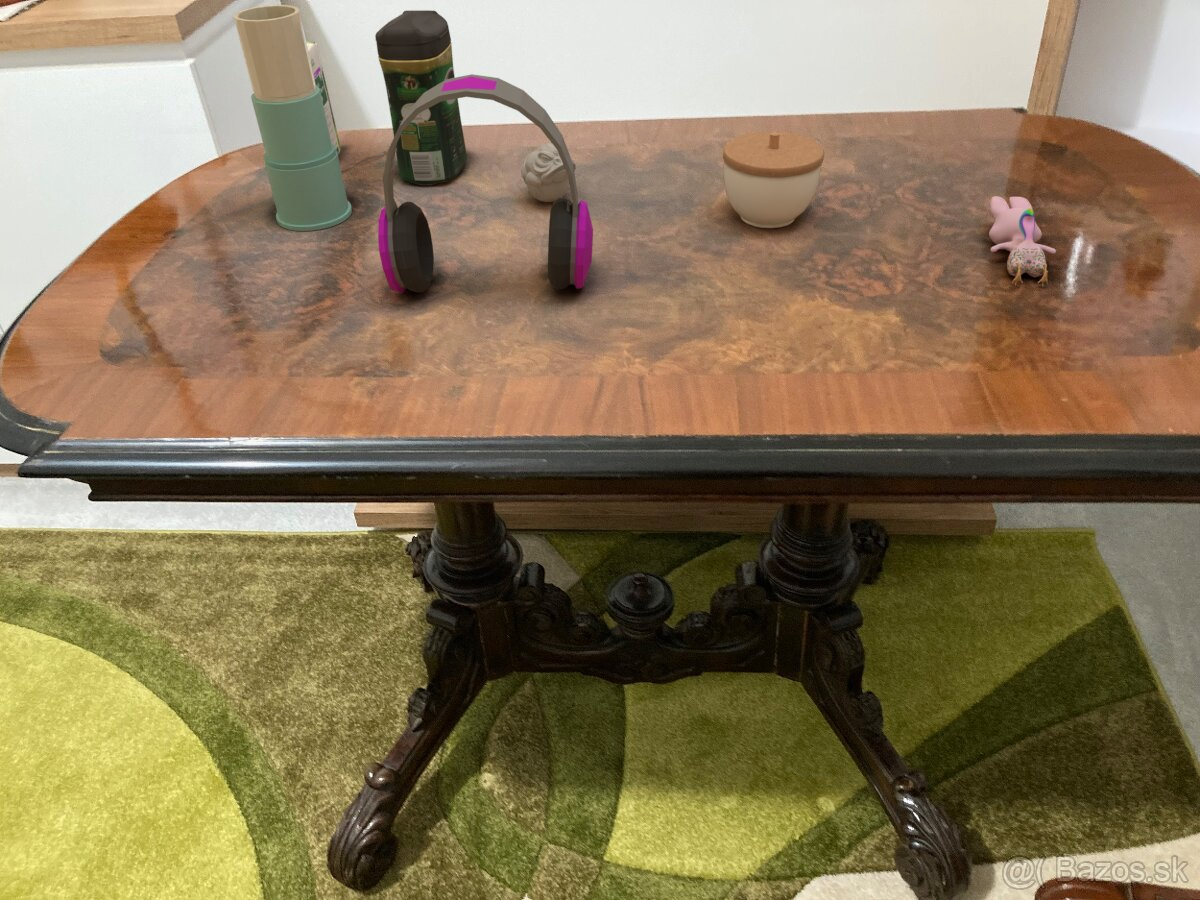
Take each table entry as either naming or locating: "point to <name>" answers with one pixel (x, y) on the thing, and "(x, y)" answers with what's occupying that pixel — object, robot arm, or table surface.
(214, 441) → the table surface
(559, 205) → the headphones
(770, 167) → the lidded sugar bowl
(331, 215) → the cup stack
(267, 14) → the cream cup
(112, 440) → the table surface
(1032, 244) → the rabbit figure
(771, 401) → the table surface
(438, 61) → the coffee jar
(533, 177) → the frog figurine
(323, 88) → the syrup box
